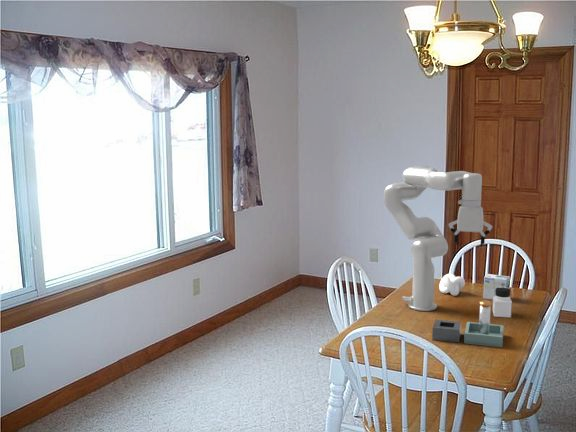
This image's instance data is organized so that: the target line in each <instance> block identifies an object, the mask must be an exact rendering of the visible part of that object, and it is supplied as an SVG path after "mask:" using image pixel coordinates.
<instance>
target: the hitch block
mask: <svg viewBox="0 0 576 432" xmlns="http://www.w3.org/2000/svg"><path fill="white" fill-rule="evenodd" d="M461 333H462V321H455V320H445V319H435V320H434V323H433V326H432V336H431V338H432V339H431V340H432V341H441V342H448V343H449V342H450V343H458V344H459V342H460V338H461Z"/></svg>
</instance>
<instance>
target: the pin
mask: <svg viewBox="0 0 576 432" xmlns="http://www.w3.org/2000/svg"><path fill="white" fill-rule="evenodd" d="M478 304H479V315H478V318H479V319H478V323H479V334H486V335H489V329H490V324H491V307H492V306H493V301H492V300H491V301H490V300H488V299H483V300H479V302H478Z"/></svg>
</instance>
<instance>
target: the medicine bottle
mask: <svg viewBox="0 0 576 432" xmlns="http://www.w3.org/2000/svg"><path fill="white" fill-rule="evenodd" d="M512 308H513V302H512V299H511V288H510V289H509V288H506V287H498V288H496V294H495V296H494V297H493V300H492V313H493V314H492V315H493V317H495V318H510V319H511V318H512V312H513V311H512Z"/></svg>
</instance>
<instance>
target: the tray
mask: <svg viewBox="0 0 576 432" xmlns="http://www.w3.org/2000/svg"><path fill="white" fill-rule="evenodd" d="M504 327H505V326H504V324H493V323H490V329H489V335H486V334H479V322H473V321H467V322H466V325H465V330H464V336H463V338H464V339H463V344H468V345H469V344H470V345H475V346H476V345H477V346H486V347H493V348H494V347H495V348H496V347H497V348H503V343H504V341H503V339H504Z"/></svg>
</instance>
